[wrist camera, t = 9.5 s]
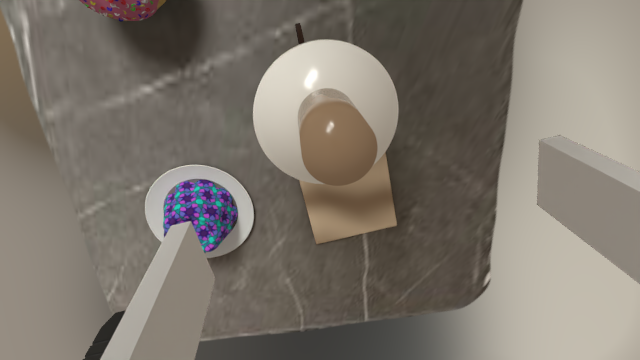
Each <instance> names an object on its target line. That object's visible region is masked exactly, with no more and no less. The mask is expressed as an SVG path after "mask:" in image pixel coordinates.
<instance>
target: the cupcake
mask: <svg viewBox="0 0 640 360" xmlns="http://www.w3.org/2000/svg"><path fill="white" fill-rule="evenodd" d="M80 1H81V2H82V3H83V4H84V5H86V6H87V7H88V8H90V9H92V10H93V11H95V12H97V13H100V14H101V15H103V16H107V17H110V18H113V19H117V20H119V21H140V20H144V19H146V18H148V17H150V16H152V15H153V14H154V13H155V12H156V11H157V9H158V8H159V7H160V6H162V5H163V4H164V3H165V2H166V0H80Z"/></svg>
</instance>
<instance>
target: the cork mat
mask: <svg viewBox="0 0 640 360" xmlns="http://www.w3.org/2000/svg"><path fill="white" fill-rule="evenodd" d="M299 181H300V185H301V189H302V193H303V196H304V200H305V204H306V207H307V211H308V215H309V219H310V222H311V226H312V230H313V234H314V237H315V241H316V244H320V243H324V242H328V241H333V240H337V239H341V238H345V237H350V236H354V235H358V234H363V233H367V232H371V231H375V230H380V229H384V228H388V227H393V226H397V222H396V216H395V210H394V203H393V197H392V190H391V184H390V177H389V171H388V165H387V158H386V152H385V153H384V154H383V155H382V157H381V158H380V159H379V160H378V161H377V162H376V163H375V164H374V165H373V166H372V168H371V169H370V170H369V172H368V173H367V174H366V175H365V176H364V177H362V178H361V179H359V180H358V181H356V182H354V183H351V184H348V185H343V186H332V185H327V184H314V183H309V182H305V181H301V180H299Z"/></svg>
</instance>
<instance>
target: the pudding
mask: <svg viewBox="0 0 640 360" xmlns="http://www.w3.org/2000/svg"><path fill="white" fill-rule="evenodd" d="M189 179H207V180H199V181H197V182H196V183H191V182H188V181H186V182H182V181H185V180H189ZM208 180H211V181H214V182H216V183H218V184H220V185H222V186H223V187H225V188H226V189H227V190H228V191H229V192H230V193H231V195H232V196H233V197H234V199H235V201H236V204H237V207H238V212H237V208H236V207H235V206H234V205H232V204H231V203H232V196H231V195H230V193H229V192H228V191H227V190H225V189H222V188H216V186H215V185H214V183H213V182H210V181H208ZM180 182H182V183H180ZM178 183H180V184H179V185H177V184H178ZM175 185H177V186H176V190H175V193H173V194H170V195H168V196H167V198H166V199H165V197H166V195H167V194H168V192H169V191H170V190H171V189H172V188H173V187H174V186H175ZM164 200H165V207H164V212H163V204H164ZM145 214H146V219H147V222H148V224H149V227H150V229H151V230H152V232H153V233H154V235H155V236H156V237H157V238H158V239H159V240H160V241H161V242H163V240H164V238H165V236H166V234H167V232H168V230H169V228H170V226H172V225H176V224H180V223H184V222H189V221H191V222H192V225H193V227H194V229H195V232H196V234H197V237H198V239H199V241H200V244H201V246H202V248H203V251H204V253H205V256H206V258H212V257H217V256H221V255H224V254H227V253H229V252H231V251H233V250H234V249H236V248H237V247H238V246H240V245H241V244H242V243H243V242H244V241H245V239H246V238H247V237H248V235H249V233H250V231H251V228H252V225H253V220H254V209H253V205H252V201H251V199H250V197H249V195H248V193H247V191H246V190H245V189H244V187H243V186H242V185H241V184H240V183H239V182H238V181H237V180H236V179H235V178H234V177H232V176H231V175H229V174H228V173H226V172H224V171H221V170H219V169H217V168H213V167H210V166H204V165H186V166H181V167H177V168H175V169H172V170H169V171H168V172H166V173H164V174H163V175H161V176H160V177H159V178H158V179H157V180H156V181H155V182H154V183H153V185H152V186H151V188H150V190H149V192H148V194H147V197H146V202H145ZM237 215H238V219H237ZM236 219H237V222H236V225H235V227H234V228H233V230H232V224H233V223H234V221H235V220H236ZM231 230H232V231H231ZM230 231H231V232H230Z"/></svg>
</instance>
